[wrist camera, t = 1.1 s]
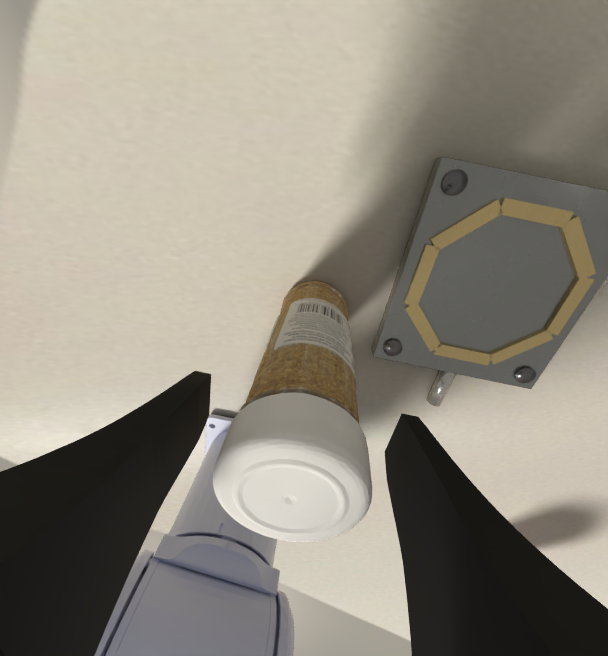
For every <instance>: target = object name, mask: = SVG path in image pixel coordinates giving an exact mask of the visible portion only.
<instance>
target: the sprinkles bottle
mask: <svg viewBox="0 0 608 656" xmlns="http://www.w3.org/2000/svg"><path fill="white" fill-rule="evenodd" d="M347 320H348V308H347V303H346V301H345V299H344V297H343V295H342V294H341V293H340V292H339V291H338V290H337V289H336V288H334V287H333V286H331V285H329V284H326V283H324V282H318V281H309V282H305V283H302V284H299V285H298V286H296V287H294V288H293V289H291V290H290V291H289V292H288V294H287V295H286V297H285V299H284V301H283V305H282V309H281V313H280V315H279V316H278V318H277V320H276V322H275V324H274V327H273V329H272V332H271V334H270V337H269V339H268V342H267V344H266V348H265V353H264V355H263V358H262V361H261V363H260V366H259V368H258V371H257V373H256V376H255V379H254V382H253V385H252V388H251V390H250V392H249V395H248V398H247V400H246V403H245V404H244V405H243V406H242V408H241V409H240V412H239V413H238V414H237V415H236V416H235V418H234V419H233V421H232V422H231V425H230V427H229V429H228V432H227V434H226V437H225V439H224V441H223V444H222V447H221V450H220V452H219V455H218V458H217V461H216V463H215V466H214V471H213V487H214V491H215V494H216V497H217V499H218V501H219V502H220V504H221V506H222V507H223V508H224V509H225V511H226V512H227V513H228V514H229V515H230V516H231V517H232V518H233V519H235V520H236V521H237V522H238V523H240V524H241V525H243V526H245V527H246V528H248V529H250V530H252V531H254V532H256V533H259V534H261V535H264V536H267V537H271V538H274V539H279V540H284V541H293V542H314V541H321V540H325V539H329V538H332V537H335V536H338V535H340V534H342V533H344V532H346V531H348V530H350V529H351V528H353V527H354V526H355V525H356V524H358V523H359V521H360V520H361V519H362V518H363V517H364V516H365V514H366V512H367V511H368V508H369V506H370V503H371V498H372V481H371V472H370V463H369V454H368V447H367V442H366V437H365V435H364V433H363V431H362V429H361V427H360V425H359V417H358V408H357V399H356V376H355V368H354V360H353V352H352V344H351V335H350V328H349V324H348V321H347Z"/></svg>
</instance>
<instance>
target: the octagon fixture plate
mask: <svg viewBox="0 0 608 656" xmlns="http://www.w3.org/2000/svg"><path fill="white" fill-rule="evenodd" d="M607 276H608V191H606V190H601V189H596V188H591V187H586V186H581V185H577V184H572V183H567V182H562V181H557V180H552V179H547V178H543V177H538V176H533V175H528V174H523V173H518V172H514V171H509V170H504V169H499V168H494V167H489V166H485V165H480V164H475V163H470V162H465V161H460V160H455V159H451V158H446V157H440V158H436V161H435V164H434V166H433V169H432V172H431V175H430V178H429V181H428V184H427V187H426V190H425V193H424V196H423V199H422V202H421V205H420V208H419V211H418V214H417V217H416V220H415V223H414V226H413V229H412V232H411V235H410V238H409V241H408V244H407V247H406V249H405V252H404V255H403V258H402V261H401V264H400V267H399V270H398V273H397V276H396V279H395V282H394V285H393V288H392V291H391V294H390V297H389V300H388V303H387V306H386V309H385V312H384V315H383V318H382V321H381V324H380V327H379V330H378V332H377V335H376V338H375V341H374V344H373V347H372V352H373V356H374V357H378V358H383V359H387V360H392V361H397V362H402V363H407V364H412V365H417V366H421V367H426V368H431V369H436V370H440V372H439V374H438V376H437V378H436V380H435V382H434V384H433V386H432V388H431V391H430V393H429V395H428V397H427V401H428V402H429V403H430V404H431V405H434V406H440V405H441V403H442V401H443V399H444V397H445V395H446V393H447V391H448V389H449V387H450V385H451V383H452V381H453V379H454V377H455V375H456V374H460V375H465V376H470V377H475V378H480V379H485V380H489V381H494V382H499V383H504V384H509V385H514V386H519V387H523V388H528V389H532V387H533V386H534V384H535V383H536V381H537V380H538V378H539V377H540V375H541V374H542V372H543V371H544V369H545V368H546V366H547V365H548V363H549V362H550V360H551V359H552V357H553V356H554V354H555V353H556V351H557V350H558V348H559V347H560V346H561V344H562V343H563V341H564V340H565V338H566V337H567V335H568V334H569V332H570V331H571V329H572V328H573V326H574V325H575V323H576V322H577V320H578V319H579V317H580V316H581V314H582V313H583V311H584V310H585V308H586V307H587V306H588V304H589V303H590V301H591V300H592V298H593V297H594V295H595V294H596V292H597V291H598V289H599V288H600V286H601V285H602V283H603V282H604V280H605V279H606V277H607Z"/></svg>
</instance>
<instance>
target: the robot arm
mask: <svg viewBox="0 0 608 656" xmlns="http://www.w3.org/2000/svg"><path fill="white" fill-rule="evenodd" d="M210 385H211V374H207V373H203V372H198V371H194V372H192V373H191V374H189V375H188V376H186V377H185V378H183V379H182V380H180V381H179V382H177V383H176V384H175V385H173V386H172V387H170V388H169V389H167V390H166V391H164V392H163V393H161V394H159V395H158V396H156V397H155V398H153V399H152V400H150V401H149V402H147V403H145V404H144V405H142V406H141V407H139V408H137V409H136V410H134V411H132V412H130V413H129V414H127V415H125V416H124V417H122V418H120V419H118V420H117V421H115V422H113V423H111V424H109V425H107V426H106V427H104V428H102V429H100V430H98V431H96V432H94V433H92V434H90V435H88V436H86V437H83V438H81V439H79V440H77V441H75V442H73V443H70V444H68V445H66V446H63V447H61V448H59V449H56V450H54V451H52V452H49V453H47V454H45V455H43V456H40V457H38V458H35V459H33V460H30V461H28V462H25V463H23V464H20V465H17V466H15V467H12V468H10V469H7V470H4V471H2V472H0V656H293V651H294V621H293V615H292V612H291V608H290V606H289V602H288V598H287V596H286V594H285V593H283V592H281V591H278V590H277V588H278V581H279V573H280V571H279V570H278V569H275V568H273V562H274V555H275V549H276V543H277V539H274V538H271V537H267V536H264V535H261V534H259V533H256V532H254V531H252V530H250V529H248V528H246V527H245V526H243V525H241V524H240V523H238V522H237V521H236V520H235V519H233V518H232V517H231V516H230V515H229V514H228V513H227V512H226V511H225V509H224V508H223V507H222V506H221V504H220V502H219V501H218V499H217V497H216V494H215V491H214V487H213V471H214V466H215V463H216V461H217V458H218V455H219V452H220V450H221V447H222V444H223V441H224V439H225V437H226V434H227V432H228V429H229V427H230V425H231V422H232V421H233V419H234V418H229V417H224V416H219V415H214V414H211V415H209V406H210ZM206 422H207V426H206V449H205V458H204V460H203V462H202V464H201V467H200V469H199V471H198V473H197V475H196V477H195V479H194V481H193V484H192V486H191V488H190V490H189V492H188V494H187V496H186V498H185V501H184V503H183V505H182V507H181V509H180V511H179V513H178V515H177V517H176V520H175V522H174V524H173V526H172V528H171V530H170V532H169V534H165V535H164V537H163V539H162V541H161V543H160V545H159V547H158V549H157V551H156V554H155V556H154V552H152V551H149V550H144V551H143V552H142V553H141V554H140V555H138V553H139V551H140V549H141V546H142V544H143V542H144V540H145V538H146V536H147V534H148V532H149V529H150V527H151V525H152V523H153V521H154V519H155V517H156V515H157V512H158V511H159V509H160V507H161V505H162V503H163V501H164V499H165V497H166V496H167V494H168V492H169V491H170V489H171V487H172V485H173V484H174V482H175V480H176V479H177V477H178V475H179V473H180V472H181V470H182V468H183V466H184V465H185V463H186V461H187V460H188V458H189V456H190V454H191V453H192V451H193V449H194V447H195V446H196V444H197V442H198V440H199V438H200V436H201V433H202V431H203V429H204V426H205V424H206ZM212 424H214V425H212ZM385 462H386V474H387V482H388V488H389V493H390V498H391V503H392V508H393V513H394V518H395V523H396V528H397V532H398V537H399V542H400V547H401V553H402V559H403V566H404V575H405V584H406V593H407V602H408V613H409V624H410V635H411V647H412V656H608V609H607V608H606V607H605V606H603V605H602V604H601V603H600V602H599V601H597V600H596V599H595V598H594V597H592V596H591V595H590V594H589V593H588V592H586V591H585V590H584V589H583V588H581V587H580V586H579V585H578V584H577V583H575V582H574V581H573V580H572V579H571V578H570V577H568V576H567V575H566V574H565V573H564V572H563V571H561V570H560V569H559V568H558V567H557V566H556V565H555V564H553V563H552V562H551V561H550V560H549V559H548V558H547V557H546V556H545V555H543V554H542V553H541V552H540V551H539V550H538V549H537V548H536V547H535V546H533V545H532V544H531V543H530V542H529V541H528V540H527V539H526V538H525V537H524V536H523V535H522V534H521V533H520V532H519V531H517V530H516V529H515V528H514V527H513V526H512V525H511V524H510V523H509V522H508V521H507V520H506V519H505V518H504V517H503V516H502V515H501V514H500V513H499V512H498V511H497V510H496V508H495V507H494V506H493V505H492V504H491V503H490V502H489V501H488V500H487V499H486V498H485V497H484V496H483V494H482V493H481V492H480V491H479V490H478V489H477V488H476V487H475V486H474V484H473V483H472V482H471V481H470V480H469V479H468V478H467V476H466V475H465V474H464V473H463V472H462V471H461V469H460V468H459V467H458V466H457V465H456V463H455V462H454V461H453V460H452V459H451V457H450V456H449V455H448V454H447V452H446V451H445V450H444V449H443V447H442V446H441V445H440V444H439V442H438V441H437V440H436V438H435V437H434V436H433V435H432V433H431V432H430V431H429V430H428V428H427V427H426V426H425V425H424V423H423V422H422V421H421V420H420V419H419V417H416V416H411V415H406V414H401V417H400V419H399V421H398V423H397V426H396V428H395V430H394V432H393V435H392V437H391V439H390V441H389V444H388V446H387V448H386V450H385Z"/></svg>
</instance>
